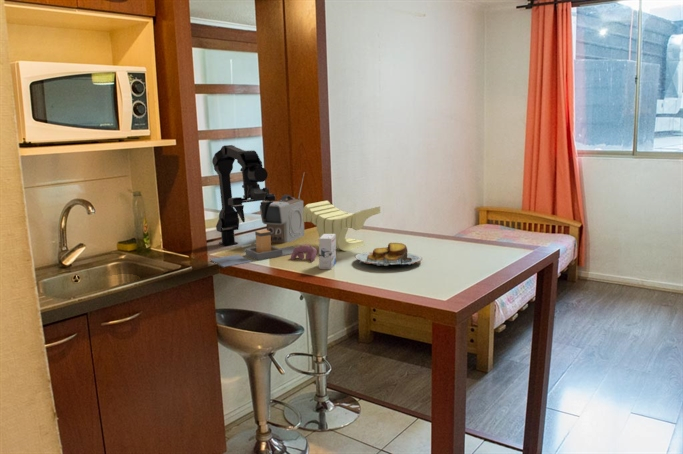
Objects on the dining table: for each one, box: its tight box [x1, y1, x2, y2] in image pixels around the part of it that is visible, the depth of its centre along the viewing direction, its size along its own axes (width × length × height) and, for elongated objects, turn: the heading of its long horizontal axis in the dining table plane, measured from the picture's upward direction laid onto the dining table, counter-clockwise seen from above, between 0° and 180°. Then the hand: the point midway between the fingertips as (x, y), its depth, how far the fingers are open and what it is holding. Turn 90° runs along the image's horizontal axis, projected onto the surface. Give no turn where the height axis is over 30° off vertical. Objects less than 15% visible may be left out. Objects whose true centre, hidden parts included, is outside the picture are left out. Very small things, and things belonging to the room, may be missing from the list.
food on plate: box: [354, 242, 423, 267], centre depth 219 cm, size 25×25×7 cm
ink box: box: [318, 234, 337, 270], centre depth 215 cm, size 9×5×12 cm, turn 168°
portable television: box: [259, 172, 305, 244], centre depth 260 cm, size 12×24×30 cm, turn 157°
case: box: [245, 245, 296, 261], centre depth 236 cm, size 11×22×3 cm, turn 125°
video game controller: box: [290, 244, 318, 263], centre depth 226 cm, size 10×5×7 cm, turn 71°
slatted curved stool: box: [303, 200, 381, 252], centre depth 245 cm, size 30×16×18 cm, turn 49°
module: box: [254, 229, 272, 253], centre depth 232 cm, size 5×5×10 cm
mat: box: [209, 254, 254, 269], centre depth 226 cm, size 14×12×1 cm
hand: (254, 220), depth 232 cm, fingers open, 9 cm apart
